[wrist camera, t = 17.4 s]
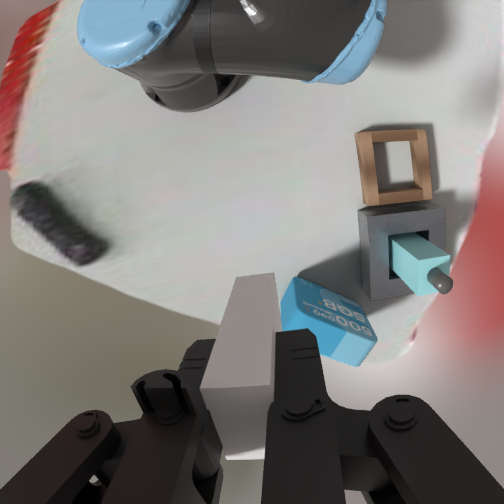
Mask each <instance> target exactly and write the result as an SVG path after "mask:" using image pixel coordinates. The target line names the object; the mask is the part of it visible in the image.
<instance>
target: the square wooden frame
mask: <svg viewBox="0 0 504 504" xmlns="http://www.w3.org/2000/svg"><path fill="white" fill-rule="evenodd" d="M355 139H356V146H357V153H358V160H359V168H360V176H361V185H362V194H363V203H364V204H366V205H368V206H375V205H383V204H392V203H401V202H411V201H420V200H430V199H432V185H431V172H430V162H429V153H428V145H427V137H426V130H425V129H408V130H384V131H367V132H358V133H355ZM392 141H410V148H411V156H412V165H413V175H414V187H413V188H403V189H392V190H383V191H378V184H377V175H376V166H375V158H374V151H373V143H376V142H392Z"/></svg>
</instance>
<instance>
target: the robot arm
mask: <svg viewBox="0 0 504 504" xmlns="http://www.w3.org/2000/svg"><path fill="white" fill-rule="evenodd" d="M386 13H387V0H84V2H83V4H82V6H81V9H80V12H79V16H78V21H77V34H78V39H79V42H80V44H81V46H82V48H83V49H84V50H85V51H86V53H88V54H89V55H90V56H91V57H93V58H94V59H96V60H97V61H98V62H99V63H100V64H102V65H104V66H105V67H109V68H113V69H116V70H118V71H120V72H122V73H124V74H126V75H128V76H131V77H133V78H135V79H137V80H139V81H140V83H141V86H142V88H143V90H144V91H145V93H146V94H147V95H148V96H149V97H150V98H151V99H152V100H153V101H154V102H156V103H157V104H159V105H161V106H163V107H165V108H167V109H170V110H173V111H177V112H196V111H201V110H204V109H207V108H209V107H212V106H214V105H216V104H217V103H219V102H220V101H222V100H223V99H224V98H226V97H227V96H228V95H229V94H230V93H231V92H232V90H233V89H234V88H235V86H236V85H237V83H238V82H239V80H240V77H241V75H254V76H268V77H279V78H289V79H297V80H301V81H302V82H304V83H315V82H320V83H328V84H336V85H341V84H345V83H349V82H352V81H354V80H356V79H357V78H358V77H359V76H360V75H361V74H362V73H363V72H364V71H365V70H366V68H367V67H368V65H369V64H370V62H371V60H372V59H373V57H374V55H375V53H376V50H377V48H378V46H379V43H380V40H381V37H382V34H383V30H384V25H385V24H384V23H383V20H384V17H385V15H386ZM131 388H132V391H133V393H134V394H135V397H136V399H137V401H138V403H139V405H140V407H141V409H142V411H143V415H142V417H141V419H137V420H132V421H125V422H118V423H113V421H112V420H111V418H110V416H109V415H108V414H107V413H105V412H104V411H99V410H91V411H86V412H83V413H81V414H78V415H77V416H76V417H74V418H73V419H72V420H71V421H70V422H68V424H66V425H65V426H64V427H63V428H62V429H61V430H60V431H59V432H58V433H57V434H56V435H55V436H54V437H53V438H52V439H51V440H50V441H49V442H48V443H47V444H46V445H45V446H44V447H43V448H42V449H41V450H40V451H39V452H38V453H37V454H36V455H35V456H34V457H33V458H32V459H31V460H30V461H29V462H28V463H27V464H26V465H25V466H24V467H23V468H22V469H21V470H20V471H19V472H18V473H17V474H16V475H15V476H14V477H13V478H11V480H10V481H9V482H7V484H6V485H5V486H4V487H2V489H0V504H219V498H220V493H221V487H222V482H223V469H222V466H221V464H220V458H221V453H222V450H223V452H224V455H225V457H226V459H228V460H229V459H230V460H233V459H234V460H241V459H264V471H263V484H262V497H261V504H346V500H345V493H344V490H354V491H361V492H362V494H363V496H364V498H365V500H366V502H367V504H504V489H503V488H502V486H501V485H500V484H499V483H498V482H497V481H496V480H495V478H494V477H493V476H492V475H491V474H490V473H489V471H488V470H487V469H486V468H485V467H484V466H483V465H482V463H481V462H480V461H479V460H478V459H477V458H476V457H475V456H474V454H473V453H472V452H471V451H470V450H469V449H468V448H467V447H466V445H464V443H463V442H462V441H461V440H460V439H459V438H458V437H457V435H456V434H455V433H454V432H453V431H452V430H451V429H450V428H449V427H448V425H446V423H445V422H444V421H443V420H442V419H441V418H440V417H439V416H438V414H437V413H436V412H435V411H434V410H433V409H432V408H431V407H430V406H429V405H428V404H427V403H426V402H424V401H423V400H422V399H420V398H418V397H414V396H411V395H394V396H391V397H387V398H385V399H383V400H382V401H380V402H378V403H377V404H376V405H375V406H374V407H373V409H372V410H371V411H367V410H354V409H347V408H345V407H342V406H339V405H338V404H336V403H335V402H333V401H332V400H331V399H330V397H329V396H328V394H327V391H326V386H325V380H324V375H323V369H322V364H321V358H320V353H319V348H318V342H317V337H316V335H315V334H314V333H312V332H311V331H310V330H309V329H308V328H305V329H297V330H289V331H283V330H282V323H281V316H280V309H279V302H278V295H277V289H276V282H275V275H274V273H267V274H259V275H251V276H243V277H236V280H235V283H234V286H233V289H232V292H231V295H230V298H229V301H228V304H227V307H226V310H225V313H224V316H223V319H222V322H221V325H220V328H219V331H218V334H217V337H216V339H206V340H197V341H196V342H194V343H193V344H192V346H190V347H189V348H188V349H187V351H186V353H185V355H184V357H183V361H182V362H181V364H180V366H179V370H178V371H175V370H167V369H165V370H158V371H153V372H151V373H148V374H145V375H144V376H142V377H140V378H139V379H137V380H136V381H135V382H134V383H133V385H132V386H131ZM93 475H95V476H96V477H97V478H98V479H99V480H98V481H96V482H95V483H90V482H89V480H90V479H91V477H92V476H93Z"/></svg>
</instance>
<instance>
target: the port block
mask: <svg viewBox="0 0 504 504" xmlns="http://www.w3.org/2000/svg"><path fill="white" fill-rule="evenodd" d="M358 222H359V234H360V249H361V268H362V288H363V289H364V291H365V293H366V294H367V296H368V298H369V299H370V301H375V300H381V299H387V298H392V297H398V296H403V295H409V294H414V292H413V291H412V290H411V289H410V288H409V287H408V285H407V284H406V283H405V282H404V281H403V280H402V279H401V278H400V277H399V276H398V275H397V274H396V273H395V272H394V271H393V269H392V268H391V267H390V266H389V248H388V235H394V234H401V233H409V232H414V233H416V234H418V235H419V236H421V237H422V238H424V239H426V240H427V241H429V242H431V243H432V244H434V245H435V246H437V247H439V248H440V249H442V250H443V251H445V208H444V207H441V206H438V205H435V204H432V203H430V202H429V203H419V204H410V205H401V206H392V207H384V208H375V209H367V210H358Z"/></svg>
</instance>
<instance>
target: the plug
mask: <svg viewBox="0 0 504 504" xmlns="http://www.w3.org/2000/svg"><path fill="white" fill-rule="evenodd" d="M388 248H389V266H390V267H391V268H392V269H393V271H394V272H395V273H396V274H397V275H398V276H399V277H400V278H401V279H402V280H403V281H404V282H405V283H406V284H407V285H408V287H409V288H410V289H411V290H412V291H413V292H414V293H415V294H416V295H417V296H421V295H426V294H431V293H435V292H440V293H441V294H446V293H448V292H449V291H450V290H451V289H452V286H453V280H452V279H451V278H450V277H449V271H450V255H449V254H448V253H446V252H445V251H443V250H442V249H440V248H439V247H437V246H435V245H434V244H432V243H431V242H429V241H427V240H426V239H424V238H422V237H421V236H419V235H418V234H416V233H414V232H409V233H401V234H394V235H388Z"/></svg>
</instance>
